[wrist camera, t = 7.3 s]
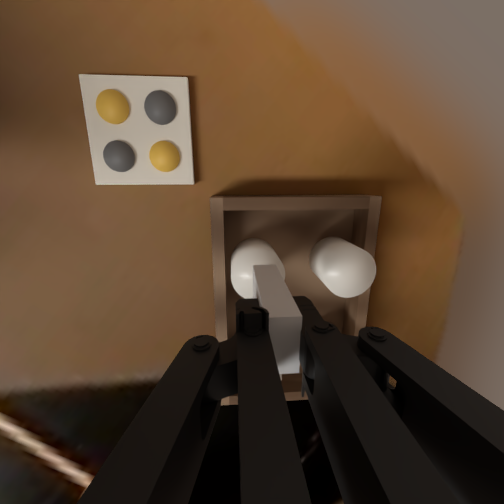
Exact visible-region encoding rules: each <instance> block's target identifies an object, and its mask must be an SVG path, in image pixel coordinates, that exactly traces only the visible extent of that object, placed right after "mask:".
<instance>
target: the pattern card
mask: <svg viewBox="0 0 504 504" xmlns="http://www.w3.org/2000/svg"><path fill="white" fill-rule="evenodd" d="M79 80H80V86H81V93H82V99H83V105H84V112H85V118H86V125H87V131H88V137H89V144H90V150H91V157H92V163H93V169H94V176H95V182H96V185H137V184H195V182H194V165H193V148H192V132H191V115H190V98H189V81H188V78H187V77H162V76H126V75H90V74H79Z"/></svg>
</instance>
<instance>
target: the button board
mask: <svg viewBox="0 0 504 504" xmlns="http://www.w3.org/2000/svg"><path fill="white" fill-rule="evenodd" d="M381 201H382V196H373V195H247V196H211V197H210V213H211V235H212V257H213V280H214V302H215V324H216V339H217V340H218V341H219V342H222V341H225V340H228V339H230V338H231V337H232V336H234V334H235V333H236V307H235V303H236V302H237V301H238V300H239V299H245V298H243V297H242V296H240V295H239V294H238V293H237V292H236V291H235V289H234V287H233V285H232V281H231V255H232V252H233V250H234V249H235V247H236V246H237V245H238V244H239V243H240V242H242V241H244V240H246V239H250V238H258V239H262V240H264V241H266V242H267V243H269V244H270V245H271V246H272V248H273V249H274V251H275V252H276V254H277V256H278V257H279V259H280V260H281V262H282V264H283V266H284V269H285V280H284V281H285V283H286V285H287V287H288V289H289V291H290V293H291V295H292V296H305V297H307V298H308V299H310V300H311V301H312V303H313V304H314V306H315V307H316V309H317V310H318V312H319V314H320V315H321V317H322V318H323V320H324V321H327V322H330V323H332V324H334V325H335V326H336V327H337V328H338V330H339V331H340V333H341V334H346V335H352V336H358V333H359V330H360V329H361V328H364V327H366V319H367V311H368V303H369V295H370V288H371V286H370V287H369V288H368V289H367V290H366V291H365V292H363V293H362V294H360V295H358V296H355V297H351V298H344V297H339V296H337V295H335V294H333V293H332V292H331V291H330V290H329V289H328V288H327V287H326V286H325V284H324V283H323V282H322V281H321V280H320V279H319V278H318V277H317V276H316V275H315V273H314V272H313V271H312V270H311V267H310V264H309V256H310V252H311V250H312V248H313V247H314V246H315V244H316V243H318V242H319V241H320V240H322V239H324V238H327V237H339V238H342V239H344V240H346V241H348V242H349V243H351V244H353V245H355V246H357V247H359V248H361V249H363V250H365V251H367V252H368V253H369V254H370V255H371V256H372V257H373V259H374V256H375V248H376V240H377V232H378V224H379V216H380V208H381ZM302 372H303V369H302V367H301V364H300V367H299V373H290V374H282V380H281V383H282V387H283V391H284V395H285V399H286V401H291V400H305V399H308V396H307V394H306V391H305V393H304V397H302V396H301V388H302ZM233 404H238V393H237V394H234V395H232V396H229V397H226V398H223V399H222V400H221V405H233Z"/></svg>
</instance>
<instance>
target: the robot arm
mask: <svg viewBox="0 0 504 504" xmlns="http://www.w3.org/2000/svg"><path fill="white" fill-rule="evenodd" d="M235 307H236V333H235V334H234V336H232V337H231V338H230V339H228V340H225V341H222V342H219V341H218V340H217V339H216V338H215V337H213V336H209V335H199V336H196V337H193V338H191V339H189V340H188V341H187V342H186V343H185V344H184V345H183V347H182V348H181V350H180V351H179V353H178V354H177V356H176V357H175V359H174V360H173V362H172V363H171V365H170V366H169V368H168V369H167V371H166V372H165V374H164V375H163V377H162V378H161V380H160V381H159V383H158V384H157V385H156V387H155V388H154V390H153V391H152V393H151V394H150V396H149V397H148V399H147V400H146V402H145V403H144V405H143V406H142V408H141V409H140V411H139V412H138V414H137V415H136V417H135V418H134V420H133V421H132V423H131V424H130V425H129V427H128V428H127V430H126V431H125V433H124V434H123V436H122V437H121V439H120V440H119V442H118V443H117V445H116V446H115V448H114V449H113V451H112V452H111V454H110V455H109V457H108V458H107V460H106V461H105V463H104V464H103V465H102V467H101V468H100V470H99V471H98V473H97V474H96V476H95V477H94V479H93V480H92V482H91V483H90V485H89V486H88V488H87V489H86V491H85V492H84V494H83V495H82V497H81V498H80V500H79V501H78V503H77V504H188V502H189V499H190V496H191V493H192V490H193V487H194V484H195V481H196V478H197V475H198V472H199V469H200V466H201V463H202V460H203V457H204V454H205V451H206V448H207V445H208V442H209V439H210V436H211V433H212V430H213V427H214V424H215V421H216V418H217V415H218V412H219V409H220V406H221V400H222V399H223V398H226V397H229V396H232V395H234V394H237V393H238V421H239V455H240V488H241V504H311V500H310V496H309V492H308V488H307V484H306V480H305V476H304V472H303V468H302V464H301V460H300V456H299V452H298V447H297V443H296V439H295V435H294V431H293V427H292V423H291V419H290V415H289V411H288V407H287V403H286V399H285V395H284V391H283V387H282V383H281V379H280V375H279V374H290V373H299V367H300V364H301V367H302V369H303V372H302V388H301V396H302V397H304V393H305V391H306V394H307V396H308V399H309V402H310V405H311V408H312V411H313V414H314V417H315V420H316V423H317V426H318V428H319V431H320V434H321V437H322V440H323V443H324V446H325V449H326V452H327V455H328V458H329V461H330V463H331V466H332V469H333V472H334V475H335V478H336V481H337V484H338V487H339V490H340V493H341V495H342V498H343V501H344V504H504V411H503V410H502V409H500V408H499V407H497V406H496V405H494V404H493V403H491V402H490V401H489V400H487V399H486V398H484V397H483V396H481V395H480V394H478V393H477V392H475V391H474V390H472V389H471V388H469V387H468V386H467V385H465V384H464V383H462V382H461V381H459V380H458V379H457V378H455V377H454V376H452V375H451V374H449V373H448V372H446V371H445V370H443V369H442V368H440V367H439V366H438V365H436V364H435V363H433V362H432V361H430V360H429V359H427V358H426V357H424V356H423V355H422V354H420V353H419V352H417V351H416V350H414V349H413V348H411V347H410V346H408V345H407V344H406V343H404V342H403V341H401V340H400V339H398V338H397V337H395V336H394V335H392V334H391V333H389V332H387V331H386V330H383V329H380V328H378V327H364V328H361V329H360V330H359V333H358V336H352V335H346V334H341V333H340V331H339V330H338V328H337V327H336V326H335V325H334V324H332V323H330V322H327V321H324V320H323V318H322V317H321V315H320V314H319V312H318V310H317V309H316V307H315V306H314V304H313V303H312V301H311V300H310V299H308V298H307V297H305V296H292V295H291V293H290V291H289V289H288V287H287V285H286V283H285V281H284V279H283V277H282V275H281V273H280V272H279V270H278V268H277V266H276V264H270V265H253V298H248V299H239V300H238V301H237V302H236V303H235ZM390 376H392V377H393V378H394V379H395V380H396V381H397V383H396V387H395V388H394V387H393V386H392V385H390V384H389V377H390Z"/></svg>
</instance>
